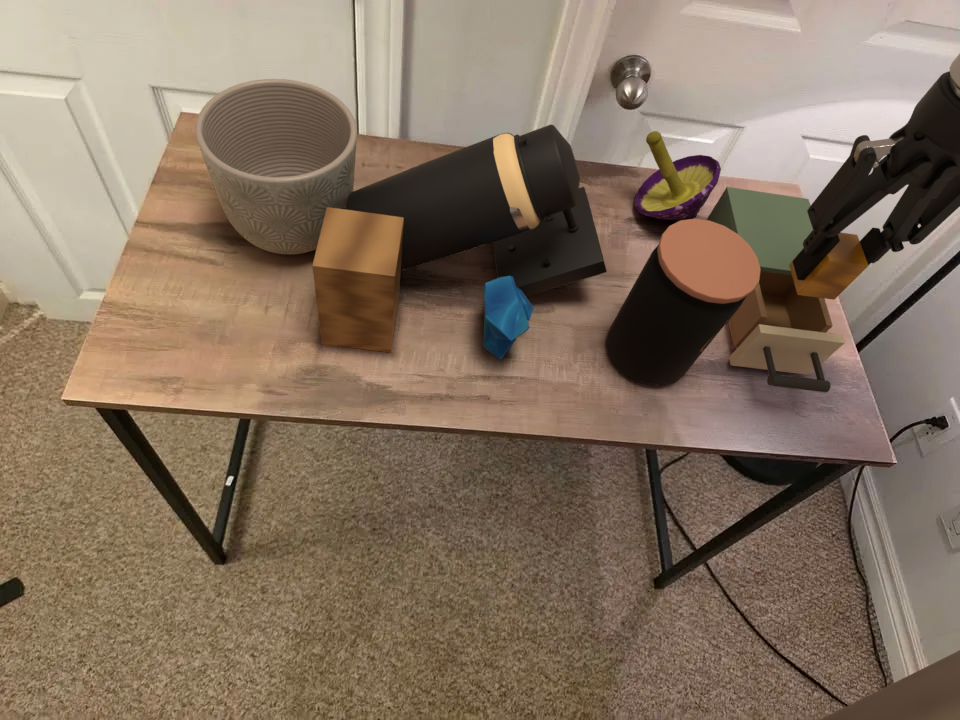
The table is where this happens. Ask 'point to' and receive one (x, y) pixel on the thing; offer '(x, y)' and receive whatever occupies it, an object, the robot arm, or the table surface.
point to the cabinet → (766, 224)
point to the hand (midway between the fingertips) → (820, 273)
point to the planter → (278, 159)
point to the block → (834, 270)
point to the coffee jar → (682, 300)
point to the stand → (358, 278)
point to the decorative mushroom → (676, 183)
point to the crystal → (504, 315)
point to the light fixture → (496, 209)
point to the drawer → (783, 333)
